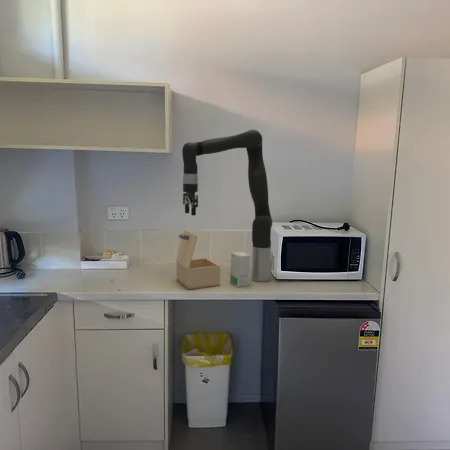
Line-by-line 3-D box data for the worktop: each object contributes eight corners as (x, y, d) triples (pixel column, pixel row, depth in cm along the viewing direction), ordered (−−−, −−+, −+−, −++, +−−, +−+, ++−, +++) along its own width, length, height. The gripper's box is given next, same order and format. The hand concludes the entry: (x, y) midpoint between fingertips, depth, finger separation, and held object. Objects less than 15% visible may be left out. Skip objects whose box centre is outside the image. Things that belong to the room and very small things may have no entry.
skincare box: (229, 282, 203) (230, 252, 201) (241, 281, 206) (242, 250, 204) (238, 287, 196) (238, 255, 193) (249, 285, 199) (250, 254, 196)
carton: (205, 276, 212) (206, 258, 211) (219, 285, 198) (220, 265, 197) (176, 280, 205) (176, 261, 203) (189, 289, 191) (189, 269, 189)
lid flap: (184, 230, 203) (175, 228, 200) (197, 236, 189) (187, 233, 186) (176, 261, 203) (167, 259, 201) (189, 269, 189) (178, 267, 187)
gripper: (203, 183, 203) (202, 215, 206) (191, 181, 216) (191, 212, 218) (189, 183, 200) (188, 216, 202) (178, 181, 212) (178, 212, 215)
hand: (190, 214), depth 210 cm, fingers open, 8 cm apart
